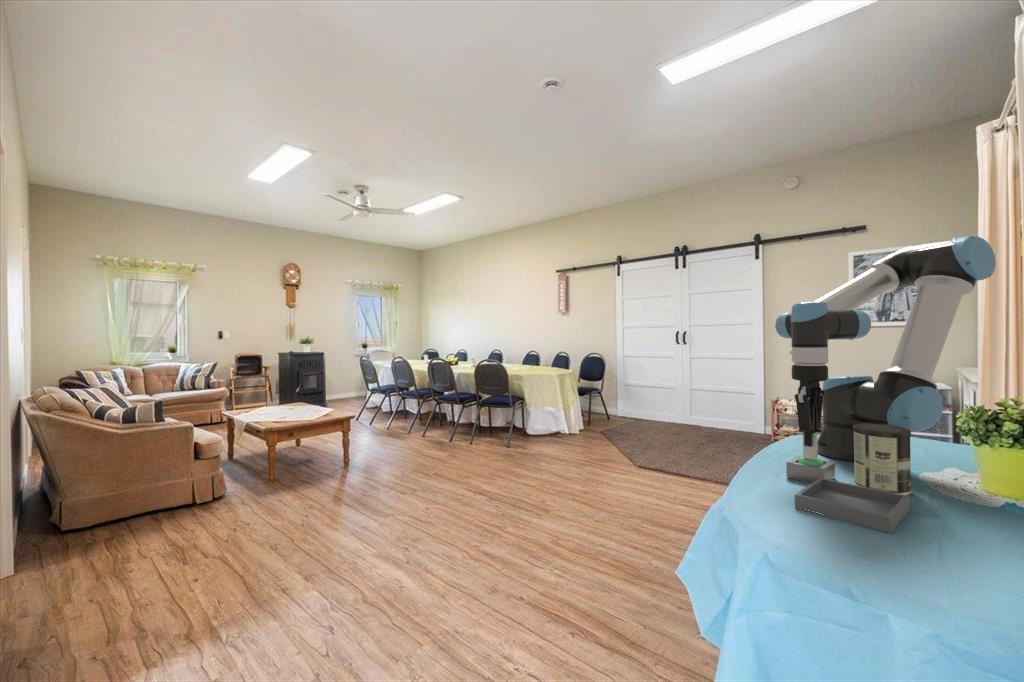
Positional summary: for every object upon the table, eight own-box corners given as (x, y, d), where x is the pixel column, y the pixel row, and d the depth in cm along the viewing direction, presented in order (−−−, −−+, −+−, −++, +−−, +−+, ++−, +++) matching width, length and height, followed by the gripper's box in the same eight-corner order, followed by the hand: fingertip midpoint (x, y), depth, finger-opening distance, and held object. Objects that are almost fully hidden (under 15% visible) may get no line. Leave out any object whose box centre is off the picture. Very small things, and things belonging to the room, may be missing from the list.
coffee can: (892, 481, 106) (892, 423, 106) (923, 497, 96) (923, 433, 95) (844, 479, 108) (843, 422, 108) (869, 495, 98) (869, 432, 98)
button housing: (798, 470, 115) (798, 455, 115) (835, 478, 109) (834, 462, 109) (786, 477, 110) (786, 461, 110) (824, 486, 104) (823, 469, 104)
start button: (802, 470, 113) (802, 455, 113) (825, 475, 109) (825, 459, 109) (795, 474, 110) (795, 459, 110) (818, 479, 106) (818, 463, 106)
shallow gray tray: (820, 489, 102) (820, 477, 102) (909, 509, 90) (909, 496, 90) (794, 507, 92) (794, 494, 92) (890, 533, 80) (890, 518, 80)
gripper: (802, 362, 116) (802, 450, 116) (782, 365, 108) (783, 460, 108) (836, 363, 110) (836, 456, 111) (817, 366, 102) (818, 467, 102)
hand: (810, 458), depth 109 cm, fingers closed
